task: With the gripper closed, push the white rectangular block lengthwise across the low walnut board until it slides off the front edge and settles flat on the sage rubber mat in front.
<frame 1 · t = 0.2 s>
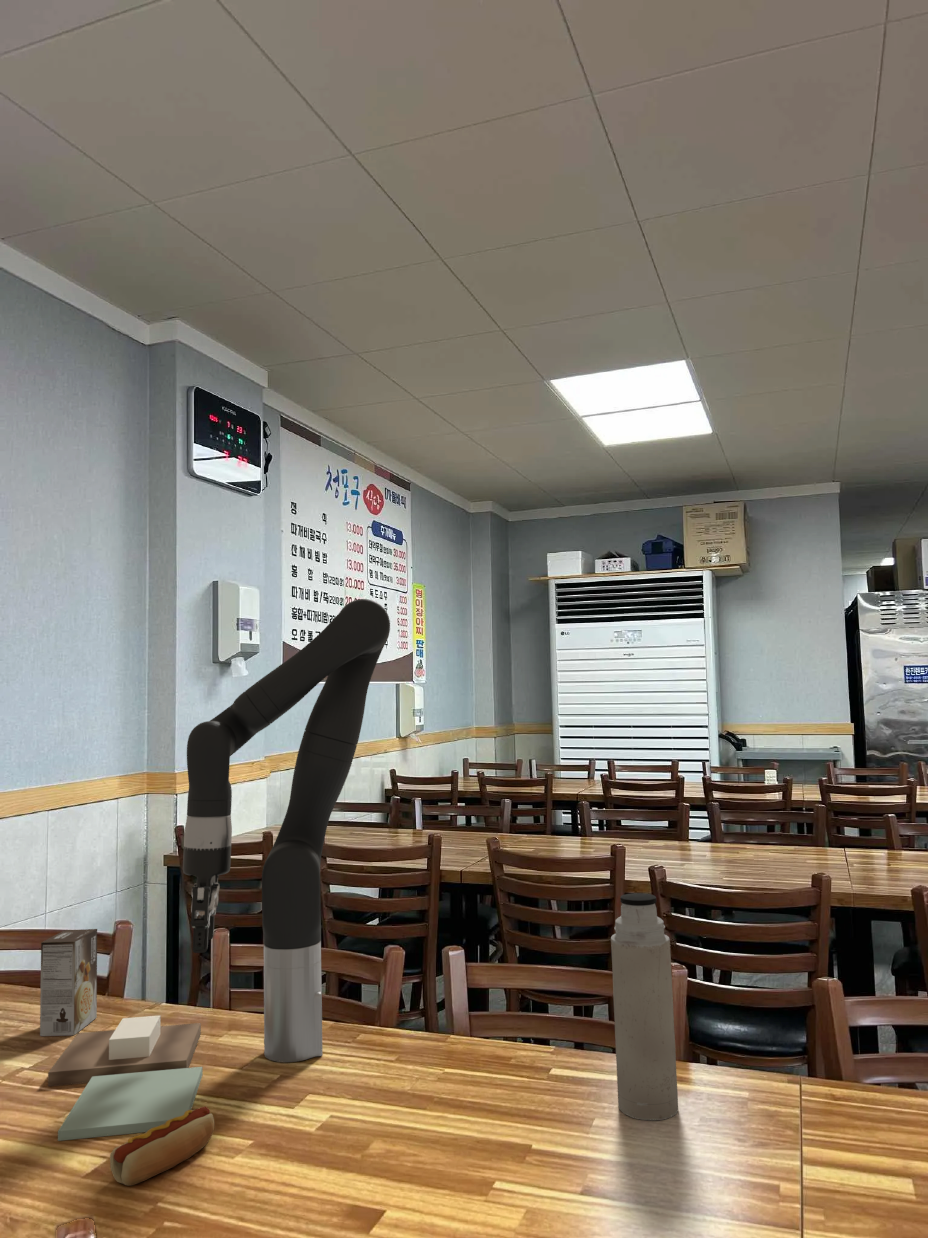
hand: (203, 945, 145), 18 cm above the table, tool pointing down, fingers open, 8 cm apart
mat: (135, 1105, 127), on the table
white rectangular block: (135, 1046, 144), point 2 cm above the table, touching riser
thermos bottle: (648, 1109, 121), on the table
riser: (129, 1059, 144), on the table
coffee box: (68, 1028, 160), on the table
food: (164, 1167, 110), on the table
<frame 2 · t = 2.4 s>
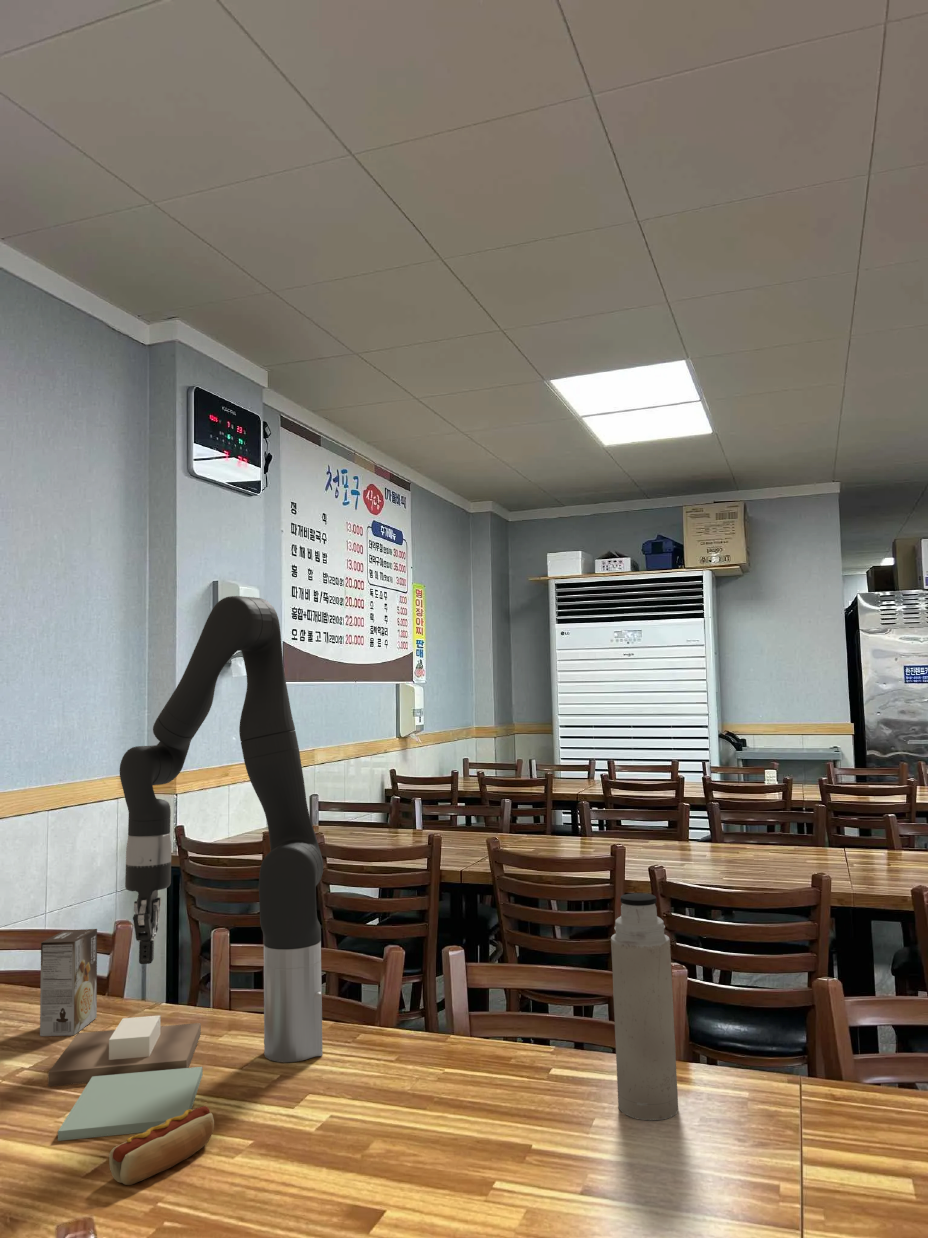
hand: (146, 962, 155), 12 cm above the table, tool pointing down, fingers closed
nothing on the table moved.
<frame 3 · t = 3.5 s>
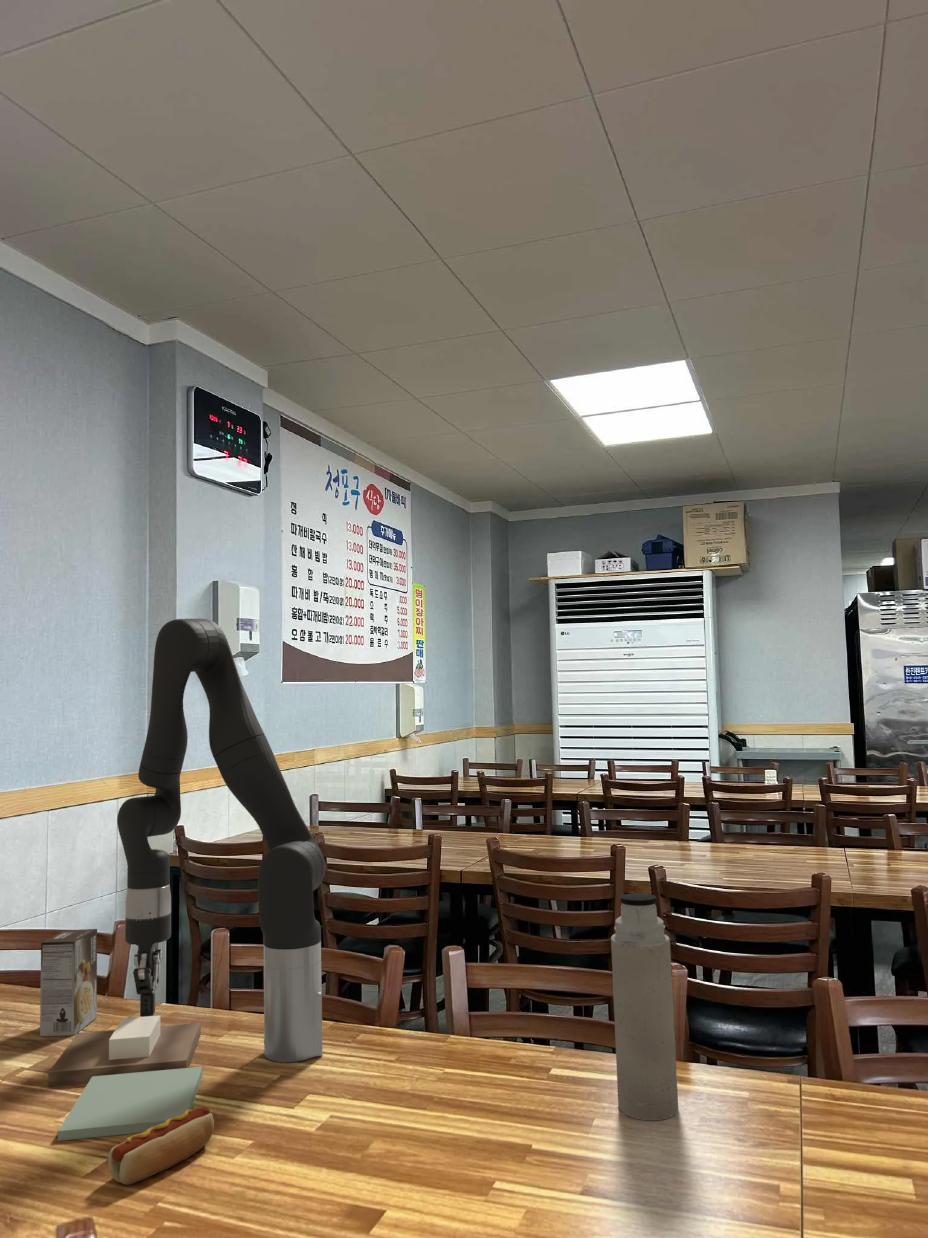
hand: (147, 1015, 154), 4 cm above the table, tool pointing down, fingers closed
nothing on the table moved.
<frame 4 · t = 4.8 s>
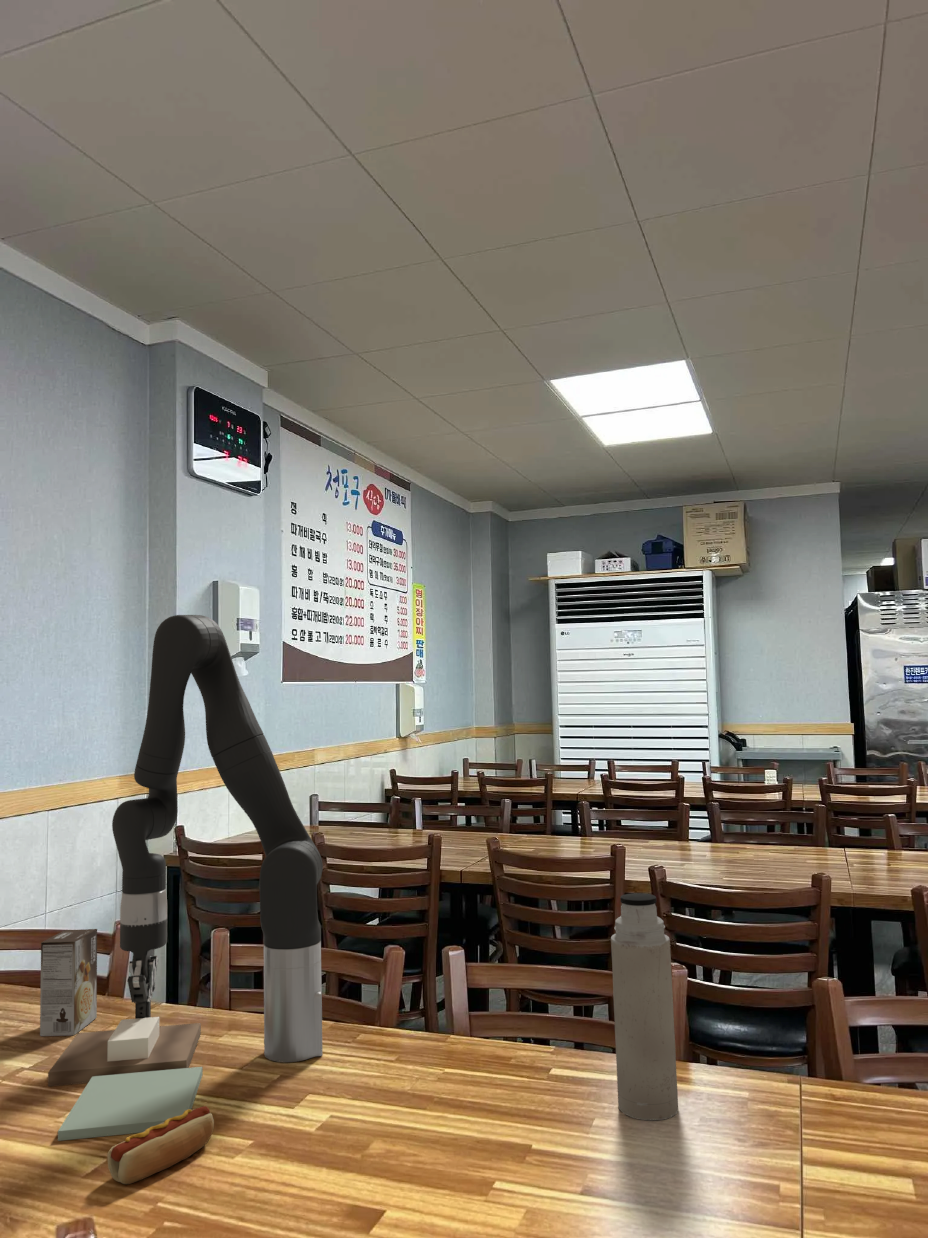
hand: (142, 1024, 150), 4 cm above the table, tool pointing down, fingers closed
white rectangular block: (134, 1048, 143), point 2 cm above the table, touching gripper, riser
everything else where it was.
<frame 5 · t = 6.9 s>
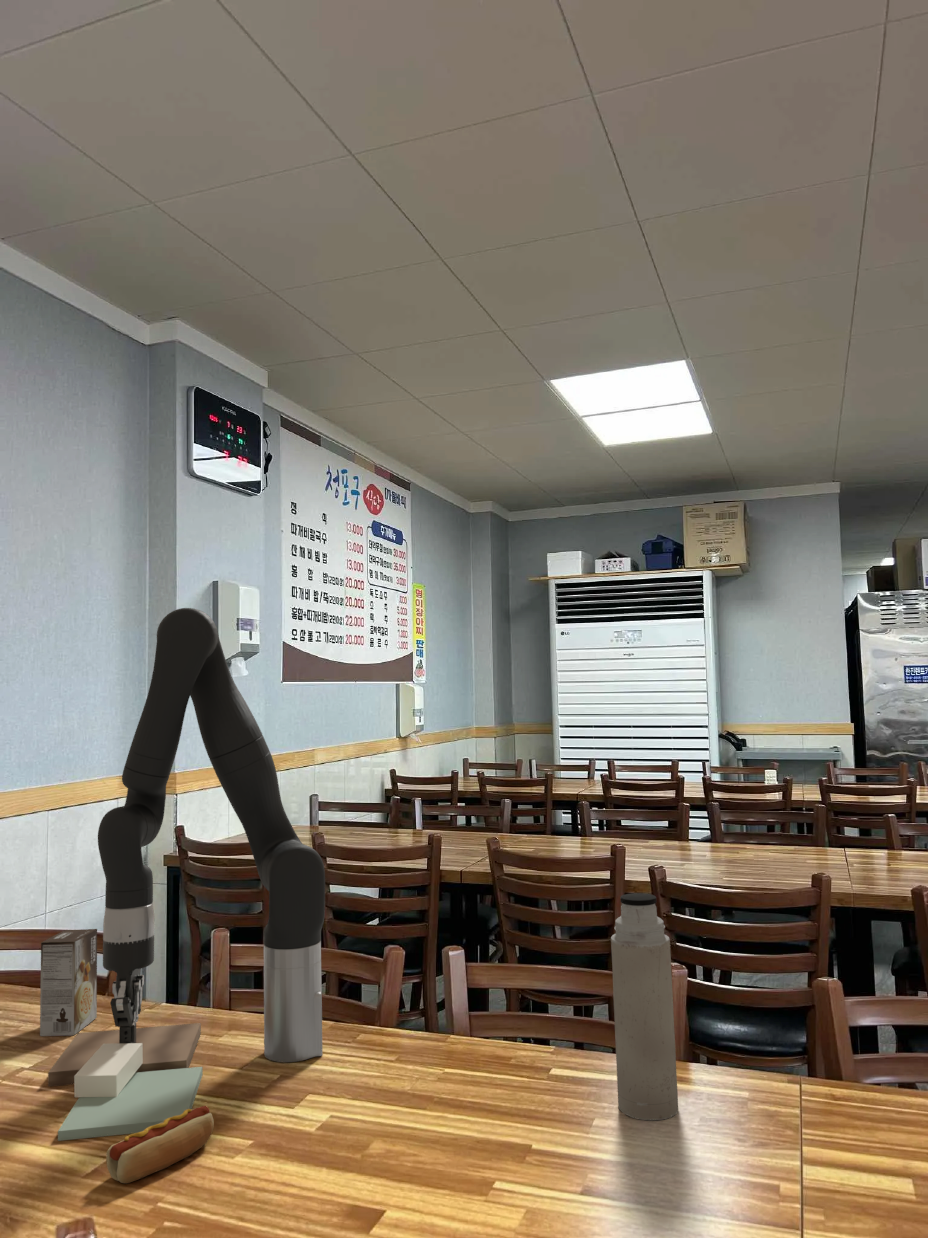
hand: (127, 1050, 138), 4 cm above the table, tool pointing down, fingers closed
white rectangular block: (109, 1079, 132), point 2 cm above the table, touching gripper, mat
everything else where it was.
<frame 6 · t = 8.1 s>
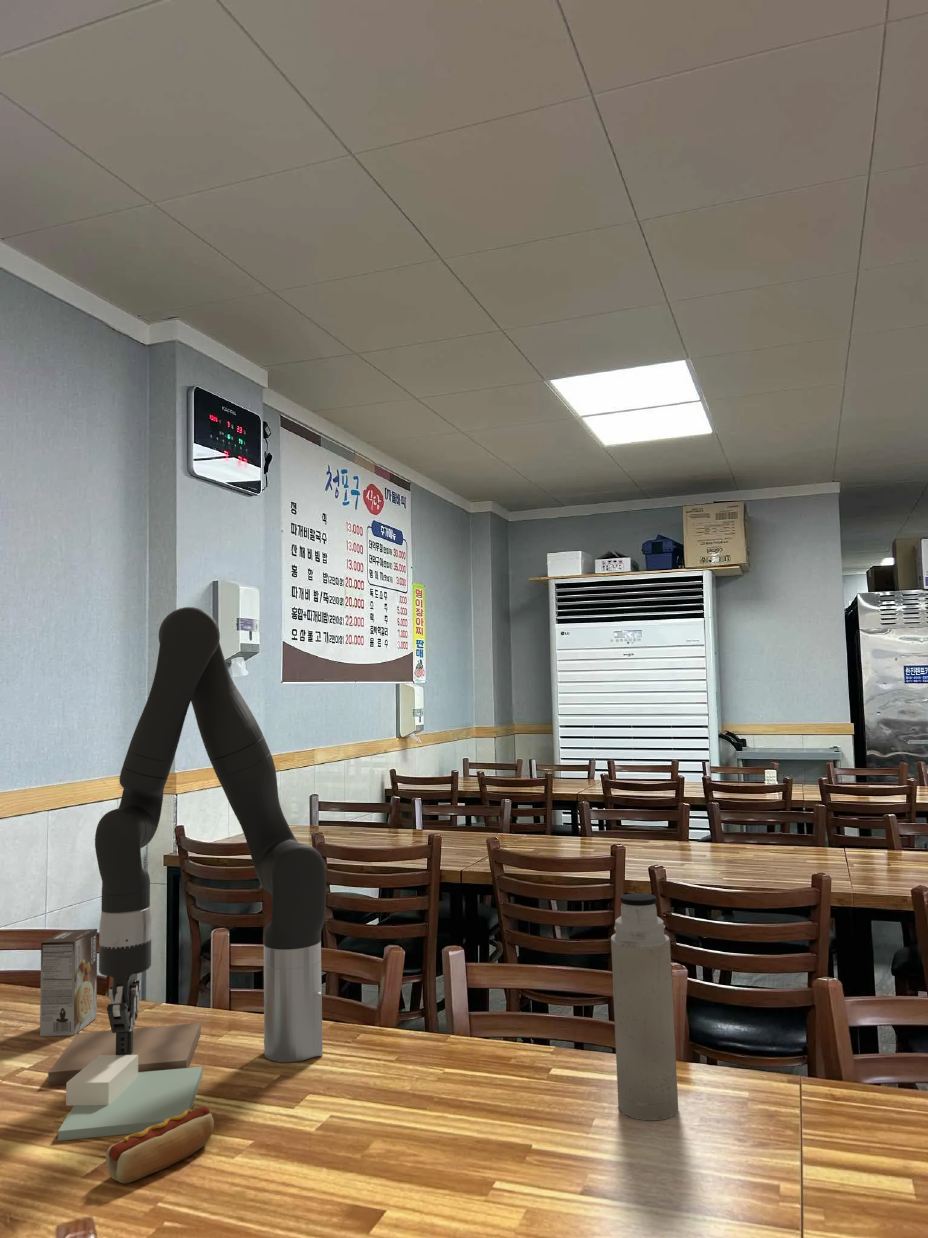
hand: (124, 1056, 136), 4 cm above the table, tool pointing down, fingers closed
white rectangular block: (103, 1090, 129), point 1 cm above the table, touching gripper, mat
everything else where it was.
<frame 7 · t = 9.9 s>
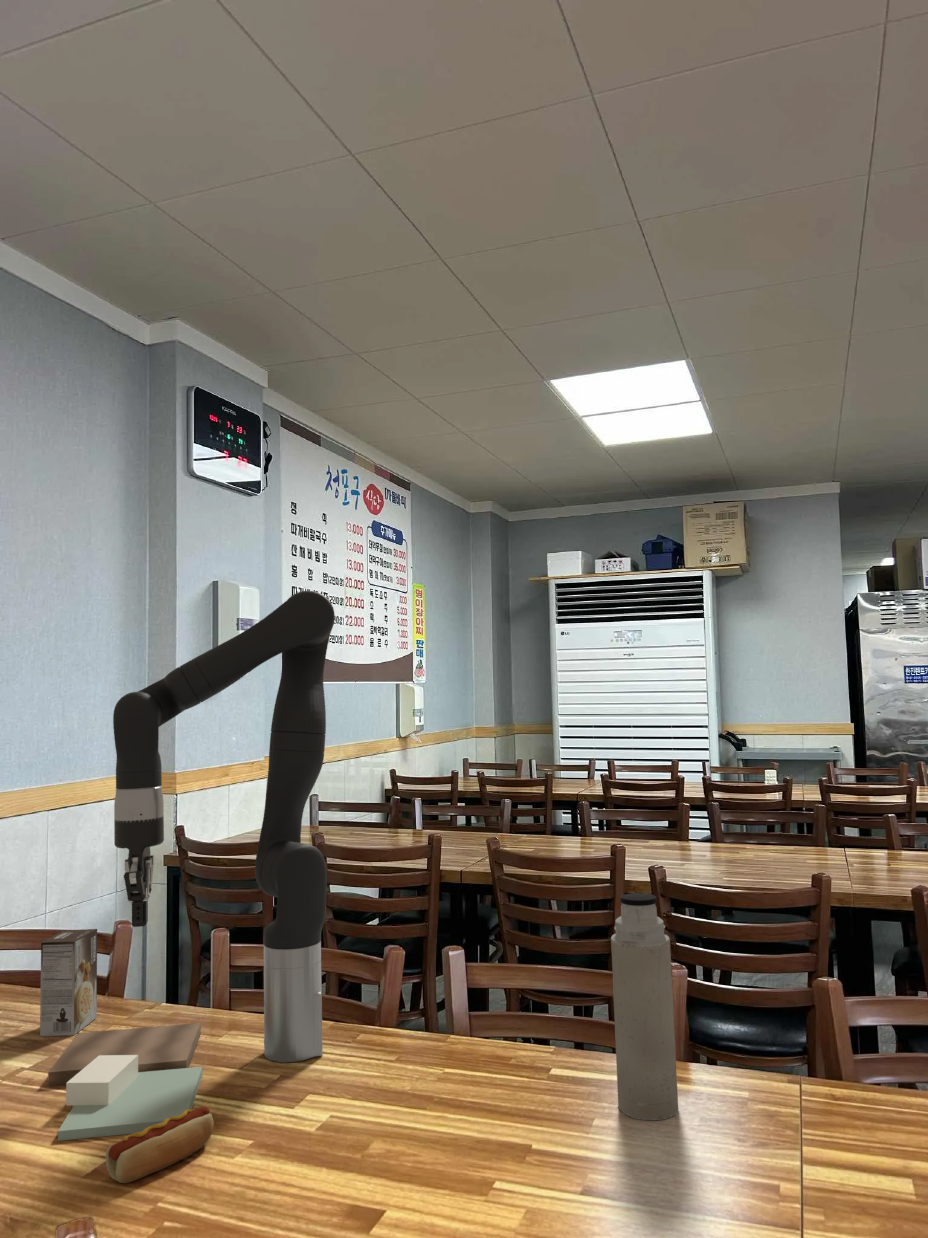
hand: (140, 925, 144), 21 cm above the table, tool pointing down, fingers closed
white rectangular block: (103, 1090, 129), point 1 cm above the table, touching mat
everything else where it was.
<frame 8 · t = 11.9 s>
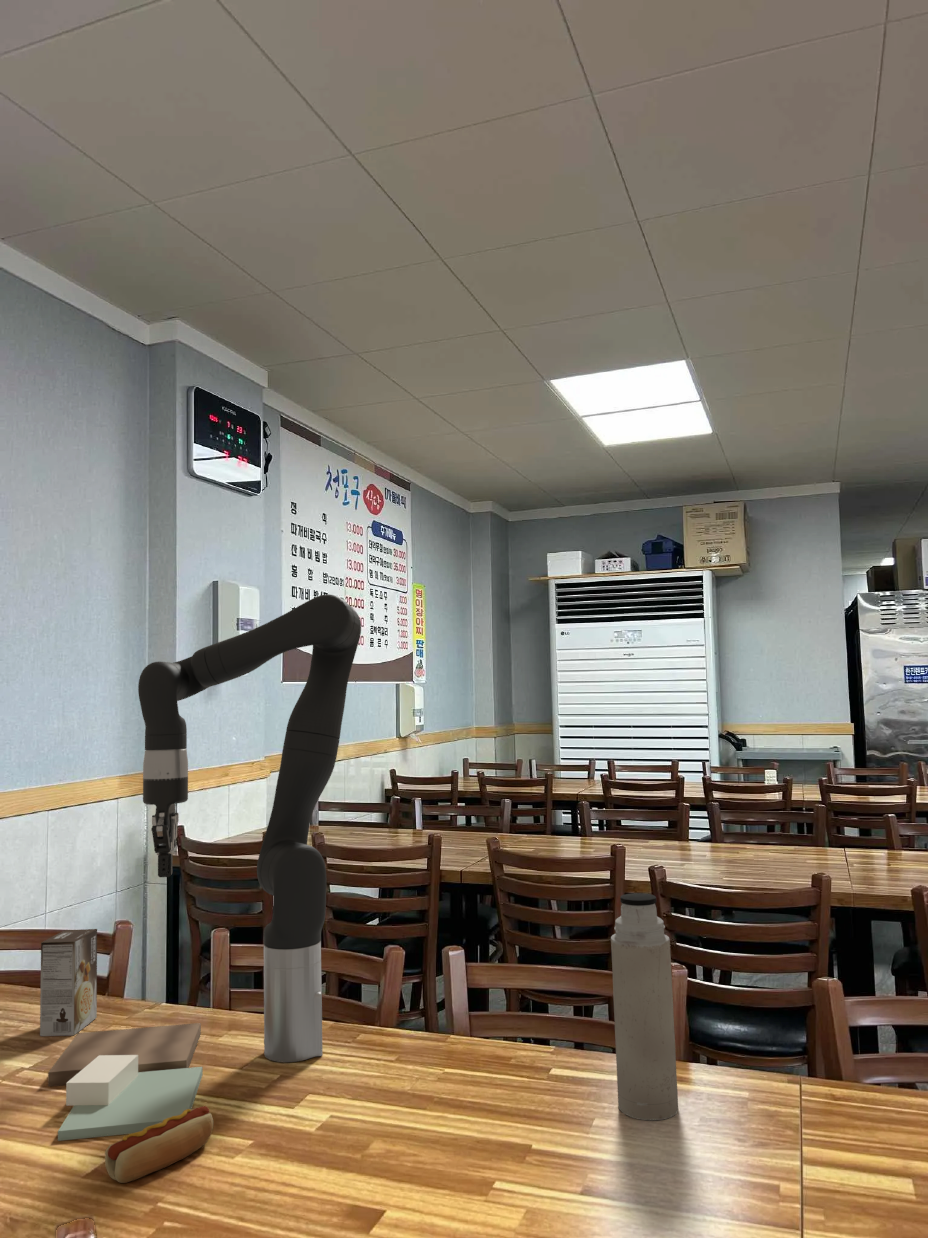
hand: (165, 876, 156), 27 cm above the table, tool pointing down, fingers closed
nothing on the table moved.
at the end: white rectangular block inside the target area on the mat (6.1 cm from its centre), point 1.2 cm above the mat's base; white rectangular block tilted 0° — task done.
